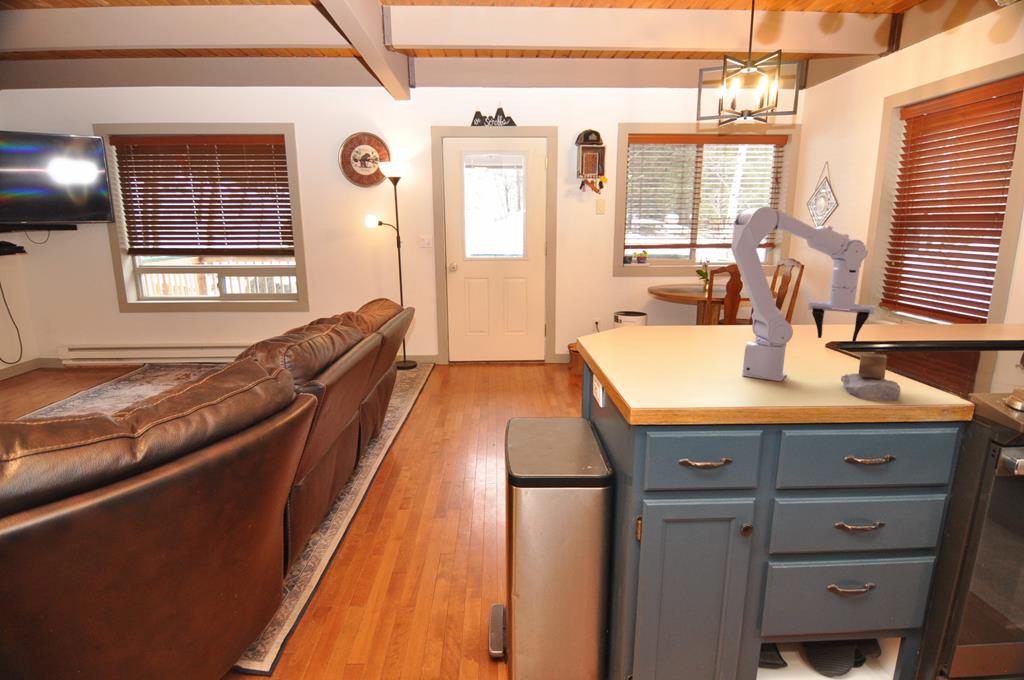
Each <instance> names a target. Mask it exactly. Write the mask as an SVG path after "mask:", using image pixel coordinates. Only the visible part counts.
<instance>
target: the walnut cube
mask: <svg viewBox="0 0 1024 680" xmlns="http://www.w3.org/2000/svg"><path fill="white" fill-rule="evenodd" d="M887 360H888V356H887V355H886V354H878V353H867V352H860V358H859V366H858V373H859V376H863V377H872V378H881V379H885V376H886V370H887V369H886V368H887V362H888V361H887Z"/></svg>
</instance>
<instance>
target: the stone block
mask: <svg viewBox="0 0 1024 680" xmlns="http://www.w3.org/2000/svg"><path fill="white" fill-rule="evenodd" d="M840 381H841V382H842V384H843V386H844V387H845V388H846V391H847V392H848V394H849V395H851V396H853V397H856V398H858V399H863V400H873V401H881V400H882V401H883V400H884V401H899V400H900V395H901V386H900V385H899V384H898V382H896V381H894V380H890V379H889V380H888V379H885V378H884V379H881V378H872V377H863V376H859V372H858V373H850V374H845V375H842V376H841V377H840Z"/></svg>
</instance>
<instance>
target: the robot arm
mask: <svg viewBox="0 0 1024 680" xmlns="http://www.w3.org/2000/svg"><path fill="white" fill-rule="evenodd" d="M732 225H733V234H732V241H731V245H730V247H731V252H732V255H733V258H734V260H735V263H736V265H737V269H738V271H739V274H740V277H741V280H742V281H743V282H742V283H743V285H744V287H745V290H746V293H747V296H748V299H749V302H750V305H751V307H752V309H753V311H752V314H751V315H750V316H751V319H752V326H751V329H752V333H753V334H754V336H755V340H754V341H751V340H748V341H746V345H745V347H744V355H743V356H744V357H743V367H742V373H741V375H742V377H751V378H754V379H755V378H756V379H763V380H769V381H776V382H782V381H783V379H785V377H786V375H787V373H786V372H784V365H785V356H786V347H787V343H788V342H790V340H791V339H792V337H793V334H794V330H793V329H794V328H793V327H792V325H791V324H790V323H789V322H788V321H787V320H786V318H785V315H784V314H783V313H782V311H781V310H780V309H779V308H778V307H777V304H776V302H775V299H774V296H773V293H772V291H771V287H770V285H769V282H768V280H767V276H766V273H765V272H764V267H763V265H762V262H761V260H760V257H759V253H758V252H757V248H758V247H759V245H760V243H761V242H762V241H763V240H764V239H765V237H767V236H768V235H769V234H770V233H771V232H773V230H774V231H775V230H776V231H777V230H779V231H780V230H781V231H783V232H786V233H788V234H791V235H794V236H795V237H799V238H801V239H803V240H806V244H807V245H808V247H809V248H810V249H813V250H816V251H817V252H820V253H822V254H824V255H827V256H828V257H830V258H831V259H832V261H833V265H832V272H831V273H832V274H831V281H830V289H829V294H828V295H829V296H828V301H809V302H808V305H807V310H811V311H812V312H811V314H812V317H813V320H814V322H815V326H816V329H817V339H821V338H822V336H823V326H824V325H823V324H824V323H823V322H824V317H825V316H824V315H825V311H827V312H841V313H854V314H855V313H856V317H855V318H856V319H855V324H854V325H855V326H854V330H853V331H854V332H853V335H852V341H851V342H855V343H856V341H857V338H858V335H859V333H860V331H861V329H862V327H863V325H864V324H865V323H866V321H867V320H868V318H869V317H870V315H875V313H876V306H875V305H869V304H868V305H867V304H866V305H865V304H858V303H855V302H856V297H857V290H858V282H859V275H860V269H861V267H862V263H863V262H864V260H865V259H866V258H867V256H868V253H869V251H868V250H867V248H866V245H865V243H864V242H863V241H862V240H860V239H852V238H850V237H849V236H850V235H848V234H847V233H843V234H842V233H839V232H837V231H835V230H833V226H831V225H819V226H817V227H813V226H811V225H809V224H807V223H805V222H804V221H802V220H800V219H797V218H796V217H793V216H791V215H790V214H787V213H786V212H783V211H781V210H779V209H778V210H777V209H774V208H772V207H770V206H762V207H747V208H746V207H745V208H743V209H741V210H740V211H739V213H738V214H737V216H736V218H735V219H734V220H733V223H732Z"/></svg>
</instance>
